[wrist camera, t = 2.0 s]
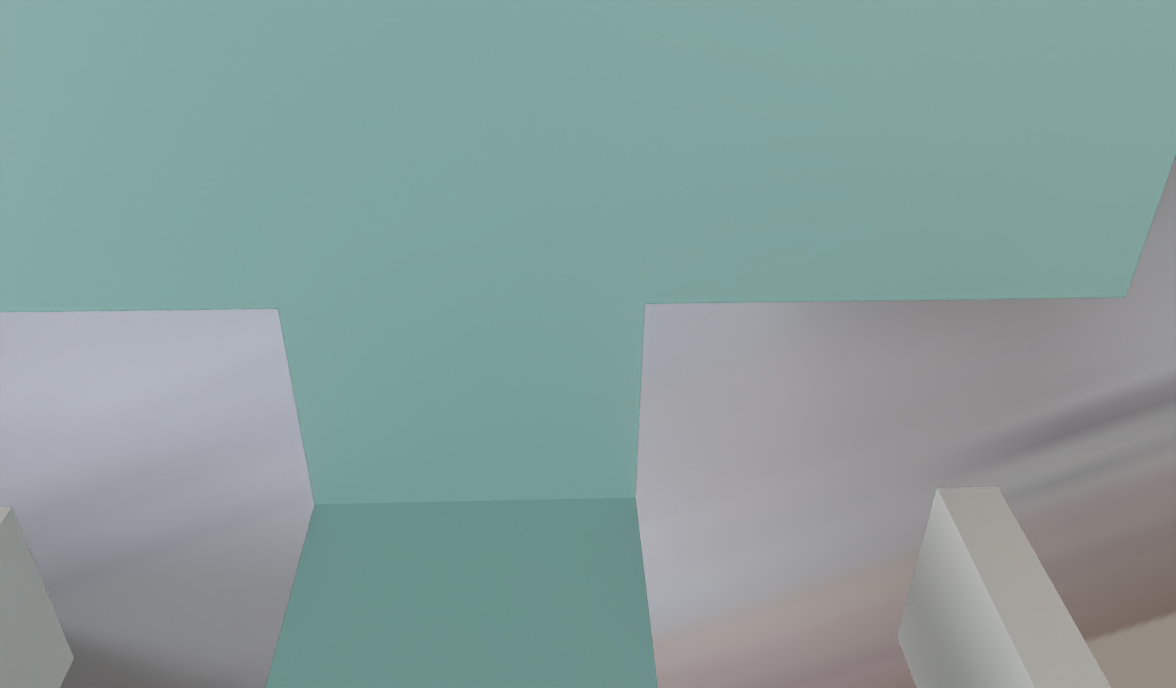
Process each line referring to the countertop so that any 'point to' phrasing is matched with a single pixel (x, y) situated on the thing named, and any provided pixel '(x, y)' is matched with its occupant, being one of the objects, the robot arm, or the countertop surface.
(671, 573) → the countertop surface
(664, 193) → the teal t-shaped block
